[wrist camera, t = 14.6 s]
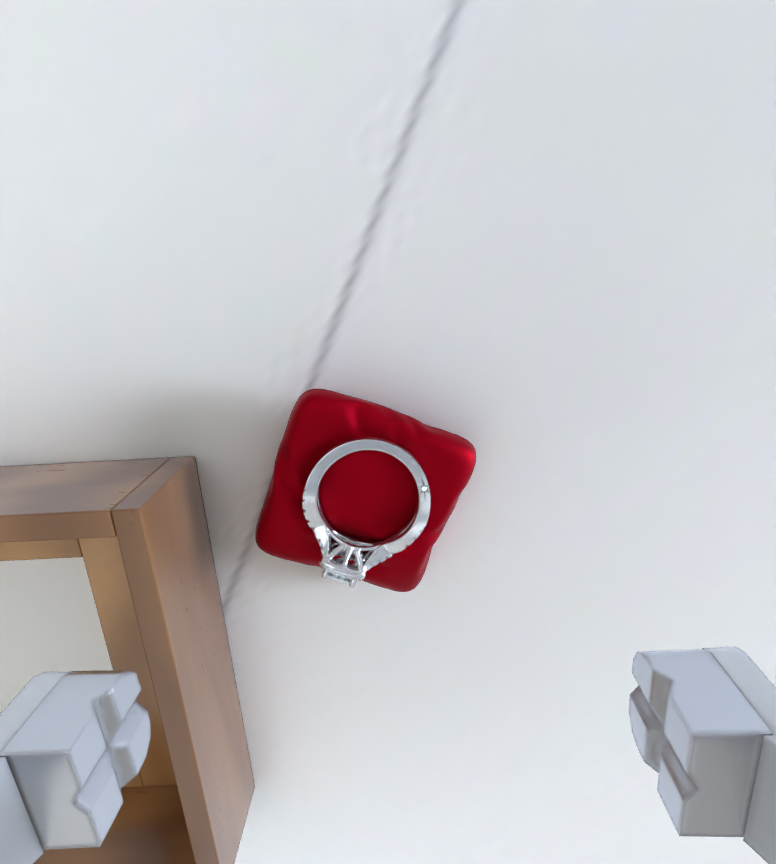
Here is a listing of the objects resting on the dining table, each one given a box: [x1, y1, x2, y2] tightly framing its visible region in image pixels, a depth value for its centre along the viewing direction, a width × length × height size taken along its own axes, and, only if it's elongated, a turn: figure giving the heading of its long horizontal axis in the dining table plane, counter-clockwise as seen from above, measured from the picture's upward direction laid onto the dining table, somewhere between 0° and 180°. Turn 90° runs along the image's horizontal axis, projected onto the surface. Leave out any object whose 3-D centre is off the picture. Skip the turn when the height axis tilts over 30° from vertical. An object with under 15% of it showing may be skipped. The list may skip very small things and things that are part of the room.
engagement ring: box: [256, 389, 476, 592], centre depth 16 cm, size 6×6×3 cm
